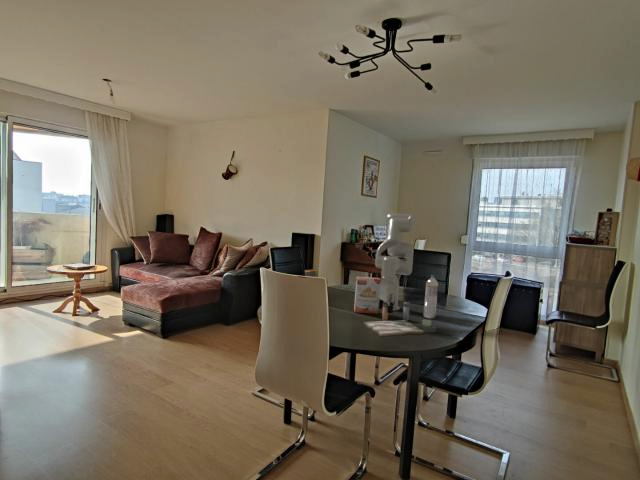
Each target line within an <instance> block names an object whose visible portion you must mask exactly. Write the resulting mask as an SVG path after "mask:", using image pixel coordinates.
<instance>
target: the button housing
mask: <svg viewBox="0 0 640 480" xmlns="http://www.w3.org/2000/svg"><path fill="white" fill-rule="evenodd" d="M416 327H417V328H419V329H421V330H423V331H424V332H425V333H427V334H428V333H436V332H437V327H436V326H434V325H432V324H431V327H424V326H422V322H420V323H416ZM425 333H424V334H425Z"/></svg>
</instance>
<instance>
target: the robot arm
mask: <svg viewBox="0 0 640 480" xmlns="http://www.w3.org/2000/svg"><path fill="white" fill-rule="evenodd" d="M385 223H386V228H387V229H386V230H387V231H386V235H385V236H386V237H385V239H384V241H383V242H382V243H381V244H379V246H378V247H377V249H376V252H375V260H374V265H375V267H376V268H377V269H381V273H380V279H381V282H380V287H379V293H378V298H379V308H378V310H381V309H382V310H383V302H387V303H388V305H389V306H388V308H387V313H388V314H393V312H394V311H399V310H400V308H401V307H400V306H399V305H398V302H399V292H400V291H399V290H400V279H399V278H398V276H397V275H403V276H410V275H411V274H412V272H413V261H414V245H413V244H412V243H411V242H403V233H408V234H409V233H411V232H412V231H413V228H414V224H415V216H414V215H413V214H410V213H399V212H398V213H397V212H395V213H394V212H393V213H388V214H387V215H386V217H385ZM386 250H387V255H382V253H383V252H384V251H386ZM403 258H404V259H403Z"/></svg>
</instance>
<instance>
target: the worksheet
mask: <svg viewBox="0 0 640 480" xmlns="http://www.w3.org/2000/svg"><path fill="white" fill-rule="evenodd" d="M363 325H365V326H366V327H367V328H368V329H370V330H371V329H372V330H371V331H372V332H374V331H375V333H376V334H377V335H379V336H380V337H385V336H387V337H388V336H402V335H417V334H418V335H420V334H425V332H424V331H423V330H421V329H419V328H417V325H413V324H412V323H410V322H408V321H405V320H403V319H401V320H388V321H382V320H381V321H380V320H378V321H377V320H376V321H364V322H363Z"/></svg>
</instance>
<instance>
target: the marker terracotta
mask: <svg viewBox="0 0 640 480" xmlns="http://www.w3.org/2000/svg"><path fill="white" fill-rule="evenodd" d="M388 306H389V305H388V303H387V302H383V309H382V312H381V313H382V315H381V321H389V320H388V319H389V313H387V308H388Z"/></svg>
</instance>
